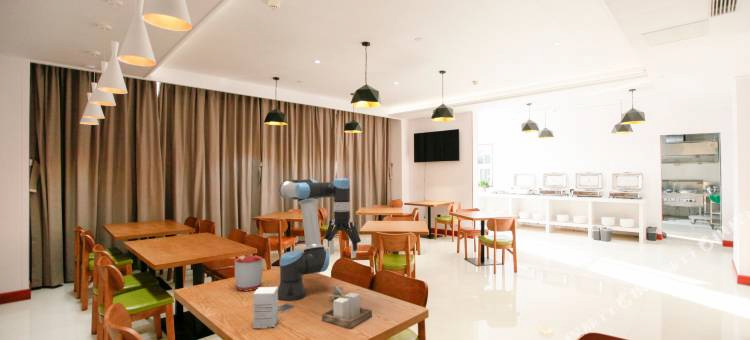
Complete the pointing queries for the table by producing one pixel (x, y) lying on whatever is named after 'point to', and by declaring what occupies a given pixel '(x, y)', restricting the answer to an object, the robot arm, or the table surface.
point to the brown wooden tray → (347, 324)
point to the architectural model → (337, 292)
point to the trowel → (285, 307)
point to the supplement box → (265, 307)
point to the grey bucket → (248, 272)
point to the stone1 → (341, 308)
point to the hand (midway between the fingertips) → (342, 256)
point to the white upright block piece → (353, 304)
